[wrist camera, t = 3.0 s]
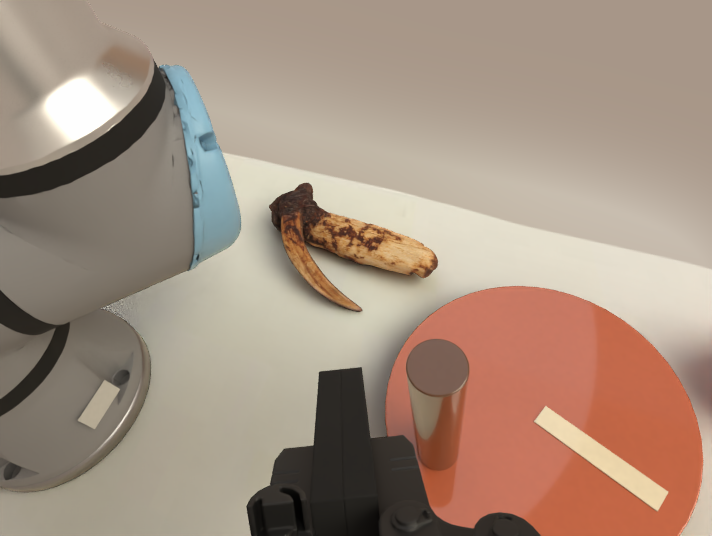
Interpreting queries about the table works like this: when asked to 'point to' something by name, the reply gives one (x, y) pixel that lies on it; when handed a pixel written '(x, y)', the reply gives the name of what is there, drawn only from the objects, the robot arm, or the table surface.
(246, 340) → the table surface
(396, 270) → the lashed bone hook
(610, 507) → the orange disc
